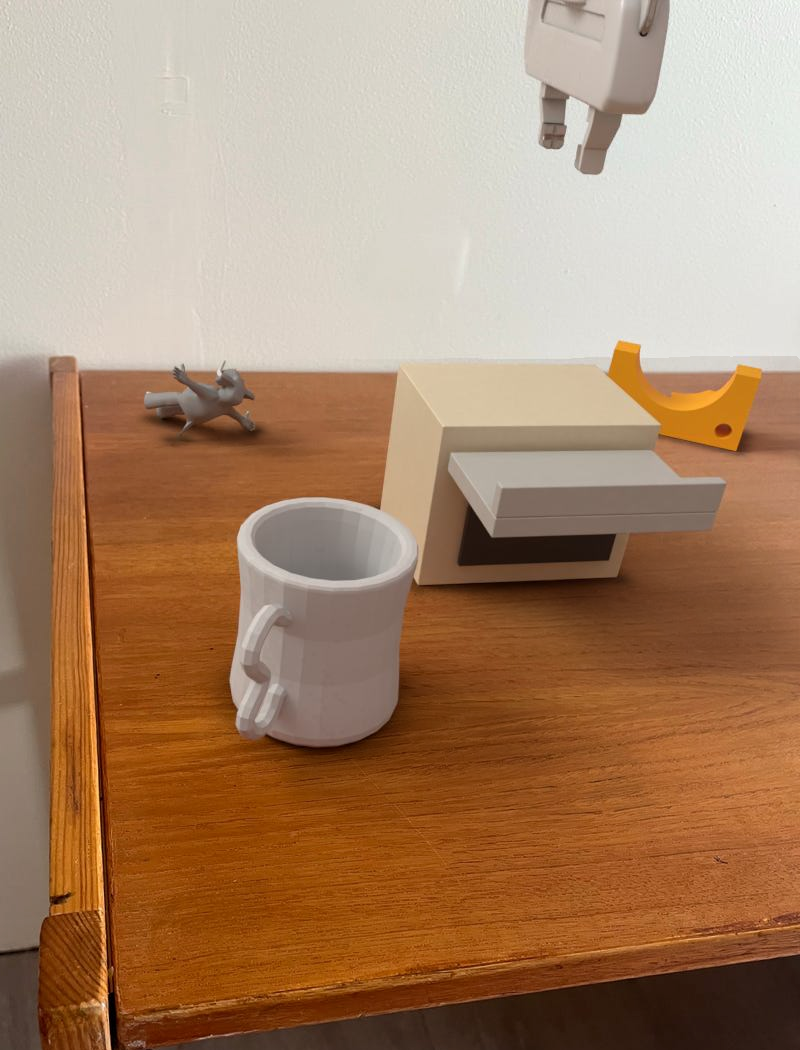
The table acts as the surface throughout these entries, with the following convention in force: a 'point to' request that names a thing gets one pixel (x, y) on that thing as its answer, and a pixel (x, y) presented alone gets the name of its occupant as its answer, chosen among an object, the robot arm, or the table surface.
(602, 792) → the table surface
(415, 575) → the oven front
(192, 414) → the grey sculpted figure
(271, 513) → the mug
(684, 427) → the pipe clamp
